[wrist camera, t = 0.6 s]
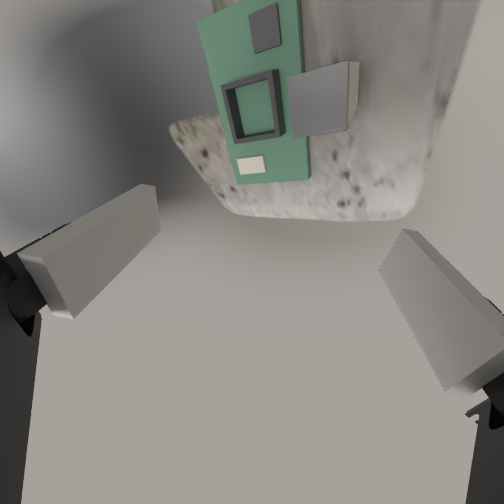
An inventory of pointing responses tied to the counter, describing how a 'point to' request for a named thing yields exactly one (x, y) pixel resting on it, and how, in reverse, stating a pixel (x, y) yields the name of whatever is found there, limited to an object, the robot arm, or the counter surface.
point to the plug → (323, 99)
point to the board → (257, 86)
